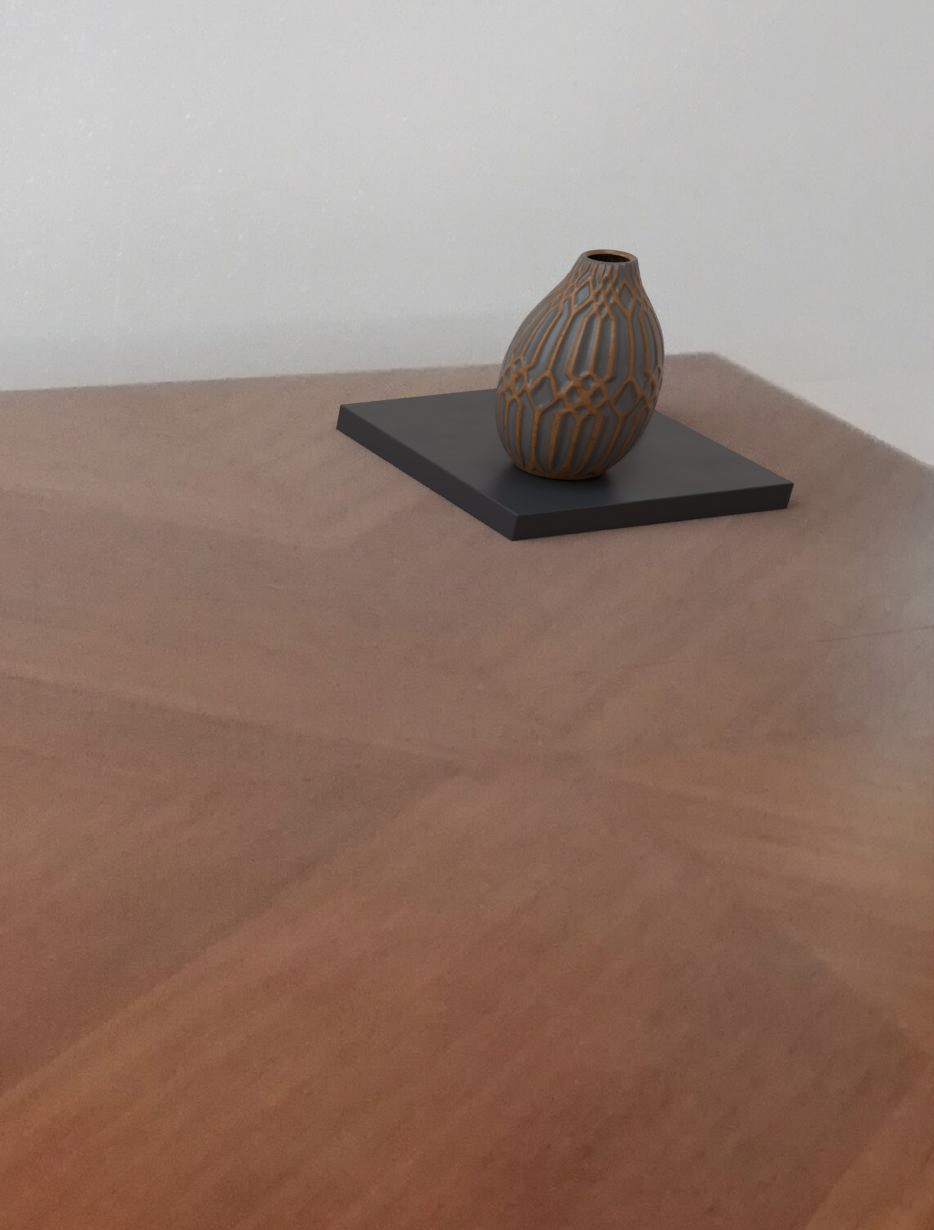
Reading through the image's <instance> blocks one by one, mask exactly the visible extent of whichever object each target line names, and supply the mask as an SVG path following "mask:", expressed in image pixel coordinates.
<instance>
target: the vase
mask: <svg viewBox="0 0 934 1230" xmlns="http://www.w3.org/2000/svg"><path fill="white" fill-rule="evenodd" d="M663 333H664V332H663V329H662V326H661V322H660V320H659V318H658V316H657V313H656V311H655V309H654V306H653V304H652V302H651V300H650V298H649V296H648V294H647V292H646V289H645V287H644V284H643V281H642V276H641V271H640V263H639V258H638V257H637V256H636V255H635V254H632V253H630V252H627V251H623V250H618V249H607V248H606V249H604V248H603V249H602V248H600V249H598V248H597V249H589V250H586V251H583V252H582V253H580V255H579V256H578V258H577V259H576V261H575V263H574V264H573V266H571V269H570V270H569V271H568V273H567V274H566V275H565V277H564V278H563V279H562V280H561V281H560V282H559V283H557V284H556V286H554V288H553V289H552V290H550V291H549V292H548V293H547V294H546V295H545V296H544V297H543V298H542V299H541V300H540V301H539V302H538V303H537V304H536V305H535V307H533V308H532V309H531V311H529V313H528V314H527V315H526V316H525V318H524V319H523V320H522V321H521V323H520V325H519V326H518V328H517V330H516V332H515V333H514V335H513V337H512V339H511V341H510V343H509V345H508V347H507V350H506V352H505V354H504V357H503V360H502V363H501V366H500V369H499V370H500V371H499V374H498V380H497V385H496V388H497V390H496V398H495V415H496V425H497V430H498V435H499V438H500V440H501V443H502V445H503V447H504V449H505V451H506V452H507V454H508V455H509V457H510V458H511V460H512V461H513V463H514V464H515V465H516V466H517V467H518V468H520V469H521V470H523V471H525V472H527V473H530V474H533V475H537V476H541V477H545V478H551V479H561V480H581V479H589V478H593V477H597V476H599V475H601V474H603V473H604V472H606V471H607V470H609V469H610V468H611V467H613V466H614V465H615V464H617V463H618V462H619V461H621V460H622V459H623V458H624V457H625V456H626V455H627V454H628V453H629V452H630V451H631V450H632V449H633V447H634V446H635V445H636V443H637V442H638V441H639V439H640V437H641V436H642V434H643V432H644V431H645V429H646V427H647V425H648V423H649V421H650V419H651V417H652V415H653V412H654V410H656V407H657V404H658V400H659V396H660V394H661V390H662V386H663V381H664V374H665V360H666V359H665V358H666V357H665V354H666V353H665V341H664V334H663Z"/></svg>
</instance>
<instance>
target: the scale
mask: <svg viewBox="0 0 934 1230" xmlns="http://www.w3.org/2000/svg"><path fill="white" fill-rule="evenodd" d="M496 390H497V387H496V388H485V389H478V390H467V391H457V392H449V393H439V394H429V395H428V394H427V395H420V396H419V395H418V396H411V397H410V396H409V397H400V398H389V399H382V400H371V401H361V402H354V403H353V402H352V403H342V404H340V405H339V411H338V416H337V421H336V427H335V430H337V431H338V432H340V433H342V434H343V435H344V436H346V437H348V438H350V439H351V440H353V441H354V442H356V443H357V444H359V445H360V446H362V447H364V448H365V449H366V450H368V451H370V452H372V454H374V455H376V456H377V457H379V458H380V459H382V460H384V461H385V462H387V463H389V464H390V465H392V466H393V467H395V468H397V469H398V470H399V471H401V472H402V473H404V474H406V475H407V476H409V477H410V478H412V479H413V480H415V481H416V482H418V483H420V484H422V485H423V486H425V487H426V488H428V489H430V490H431V491H432V492H434V493H435V494H437V495H438V496H440V497H441V498H443V499H445V500H446V501H448V502H449V503H451V504H453V505H454V506H456V507H457V508H459V509H461V510H462V511H464V512H465V513H467V514H469V516H471V517H473V518H475V519H476V520H477V521H479V522H481V523H482V524H484V525H486V526H487V527H489V529H492V530H493V531H495V532H496V533H498V534H499V535H501V536H503V537H504V538H506V539H507V540H509V541H510V542H515V541H524V540H532V539H543V538H549V537H557V536H559V537H560V536H566V535H575V534H584V533H585V534H586V533H593V532H600V531H610V530H616V529H624V528H626V529H627V528H635V527H642V526H643V527H644V526H652V525H660V524H661V525H662V524H669V523H676V522H685V521H693V520H701V519H702V520H703V519H709V518H710V519H711V518H718V517H727V516H735V515H736V516H737V515H743V514H745V515H746V514H753V513H754V514H755V513H761V512H770V511H778V510H786V509H788V506H789V502H790V499H791V496H792V492H793V489H794V486H795V482H793V481H791V480H789V479H788V478H785V477H784V476H782V475H780V474H779V473H776V472H774V471H772V470H771V469H768V468H767V467H765V466H763V465H761V464H759V463H757V462H755V461H754V460H752V459H750V458H748V457H746V456H744V455H742V454H741V453H739V452H736V451H734V450H732V449H730V448H729V447H727V446H724V444H720V443H719V442H717V441H715V440H714V439H712V438H709V437H707V436H706V435H704V434H702V433H700V432H698V431H696V430H694V429H692V428H690V427H689V426H686V425H685V424H682V423H681V422H679V421H677V420H675V419H673V418H671V417H669V416H668V415H666V414H663V413H662V412H660V411H658V410H656V409H654V412H653V415H652V417H651V419H650V421H649V423H648V425H647V427H646V429H645V431H644V432H643V434H642V436H641V437H640V439H639V441H638V442H637V443H636V445H635V446H634V447H633V449H632V450H631V451H630V452H629V453H628V454H627V455H626V456H625V457H624V458H623V459H622V460H621V461H619V462H618V463H617V464H615V465H614V466H613V467H611V468H610V469H609V470H607V471H606V472H604V473H603V474H601V475H599V476H597V477H593V478H589V479H581V480H561V479H551V478H545V477H541V476H537V475H533V474H530V473H527V472H525V471H523V470H521V469H520V468H518V467H517V466H516V465H515V464H514V463H513V461H512V460H511V458H510V457H509V455H508V454H507V452H506V451H505V449H504V447H503V445H502V443H501V440H500V438H499V435H498V430H497V425H496V415H495V398H496Z"/></svg>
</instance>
